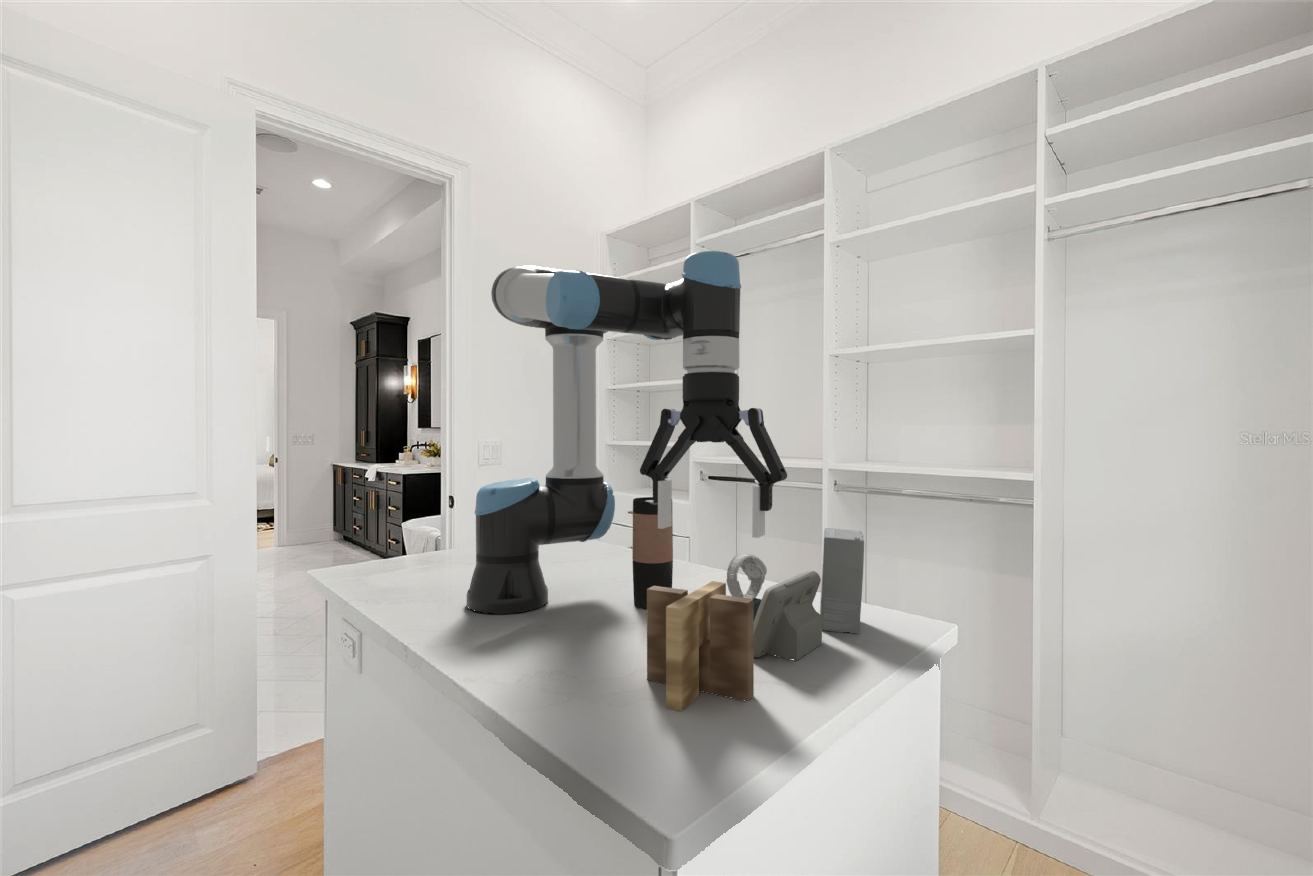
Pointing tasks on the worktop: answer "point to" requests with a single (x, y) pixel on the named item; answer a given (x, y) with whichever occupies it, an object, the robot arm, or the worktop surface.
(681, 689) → the notched board
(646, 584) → the travel mug
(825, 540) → the skincare box
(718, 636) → the notched stand
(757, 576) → the watch
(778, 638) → the digital clock
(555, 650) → the worktop surface
